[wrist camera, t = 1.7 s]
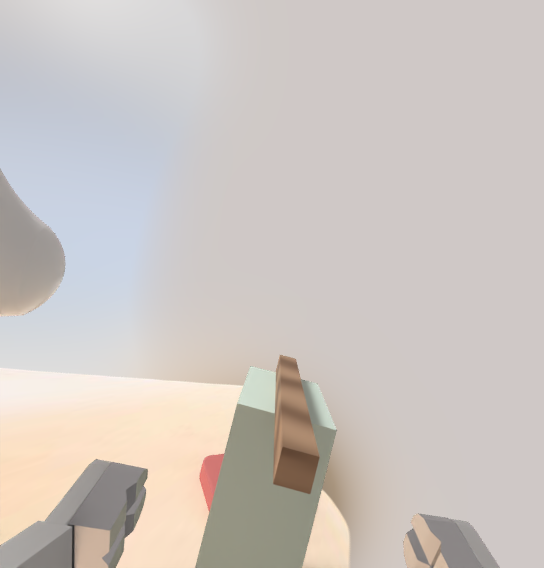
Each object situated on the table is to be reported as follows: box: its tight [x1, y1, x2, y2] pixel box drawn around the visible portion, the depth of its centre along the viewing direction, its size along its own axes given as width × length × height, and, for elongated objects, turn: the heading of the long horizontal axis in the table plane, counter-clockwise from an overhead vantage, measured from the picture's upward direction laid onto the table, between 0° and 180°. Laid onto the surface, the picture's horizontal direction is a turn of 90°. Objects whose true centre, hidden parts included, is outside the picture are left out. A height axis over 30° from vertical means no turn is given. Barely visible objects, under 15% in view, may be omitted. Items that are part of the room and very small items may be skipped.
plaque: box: [200, 454, 224, 512], centre depth 50 cm, size 18×4×15 cm
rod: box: [273, 355, 320, 494], centre depth 27 cm, size 22×2×2 cm, turn 179°
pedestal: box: [195, 366, 337, 568], centre depth 31 cm, size 12×10×26 cm
